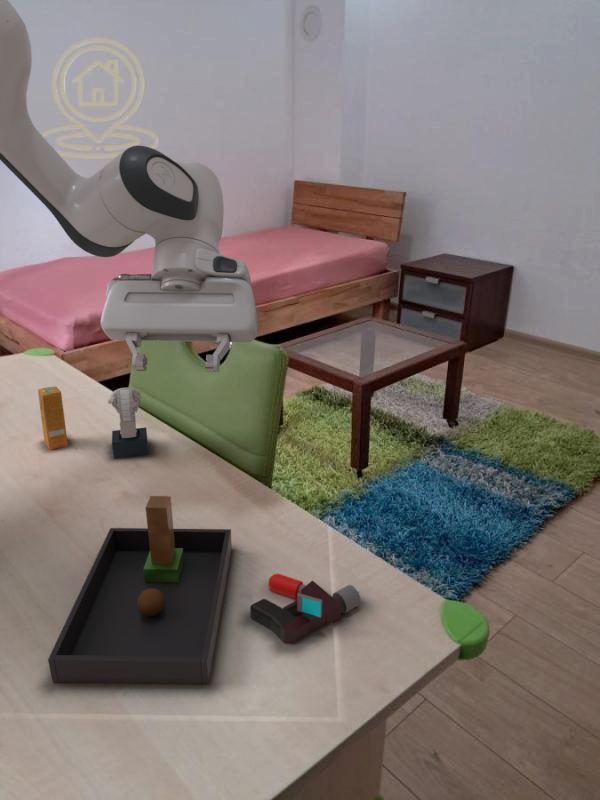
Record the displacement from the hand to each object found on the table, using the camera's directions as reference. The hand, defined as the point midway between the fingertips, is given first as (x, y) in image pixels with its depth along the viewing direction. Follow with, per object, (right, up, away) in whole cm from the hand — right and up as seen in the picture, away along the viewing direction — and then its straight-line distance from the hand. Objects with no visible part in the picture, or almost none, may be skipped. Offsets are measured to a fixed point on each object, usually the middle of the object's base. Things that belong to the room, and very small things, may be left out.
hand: (175, 369), depth 80 cm
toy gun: (+16, -28, -8) cm, 33 cm away
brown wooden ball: (-1, -26, -11) cm, 28 cm away
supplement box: (-25, -12, +27) cm, 39 cm away
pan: (-1, -28, -9) cm, 29 cm away
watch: (-12, -13, +25) cm, 31 cm away
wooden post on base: (-1, -25, -4) cm, 25 cm away
